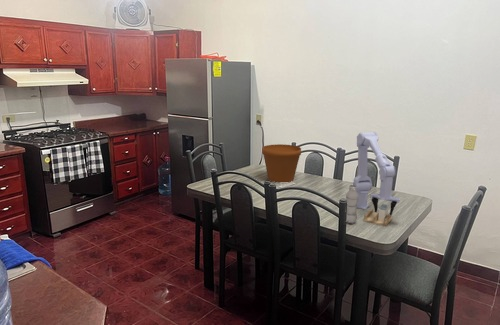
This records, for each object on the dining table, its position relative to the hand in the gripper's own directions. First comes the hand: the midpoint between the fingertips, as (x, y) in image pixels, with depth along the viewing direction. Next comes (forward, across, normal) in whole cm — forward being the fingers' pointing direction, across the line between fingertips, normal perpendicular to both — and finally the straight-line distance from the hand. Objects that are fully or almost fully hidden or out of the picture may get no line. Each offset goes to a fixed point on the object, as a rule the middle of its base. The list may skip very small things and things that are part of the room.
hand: (383, 212), depth 191 cm
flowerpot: (+5, -82, +37) cm, 91 cm away
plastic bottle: (+5, -14, -12) cm, 19 cm away
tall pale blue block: (+3, 0, 0) cm, 3 cm away
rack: (+4, -2, 0) cm, 5 cm away
